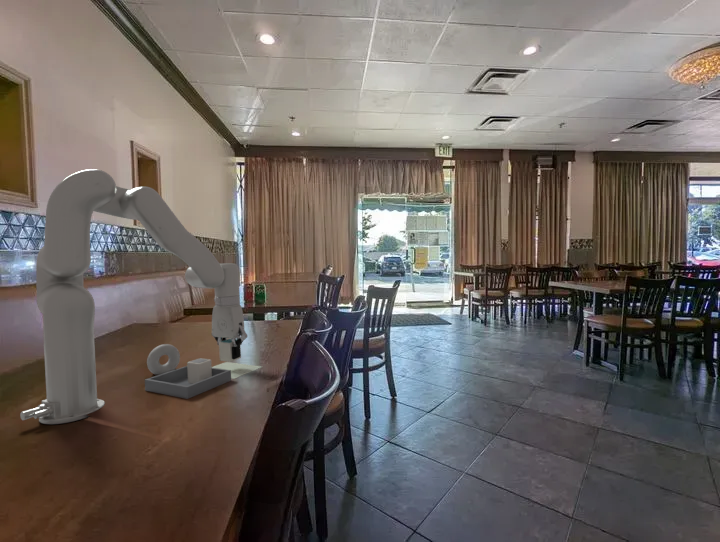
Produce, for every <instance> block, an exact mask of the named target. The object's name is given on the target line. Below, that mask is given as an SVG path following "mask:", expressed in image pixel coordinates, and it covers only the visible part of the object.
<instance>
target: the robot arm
mask: <svg viewBox="0 0 720 542" xmlns="http://www.w3.org/2000/svg"><path fill="white" fill-rule="evenodd" d="M95 212H96V213H100V214H104V215H109V216H114V217H116V218H121V219H127V220H132V221H138V222H139V223H140V224H141V225H142V227H143V228H144V229H145V230H146V231H147V233H148V234H149V235H150V236H151V238H152V239H154V241H155V243H156V244H157V245H158V246H159V247H160V248H162V249H163V250H165V251H166V252H169V253H170V254H173V255H174V256H176V257H178V258H179V259H180V260H182V261H183V262H184V263H185V264H186V265H187V267H188V268H187V269H186V270H185V274H184V279H185V281H186V283H187V284H189V286H191V287H193V288H199V289H214V299H213V301H214V303H215V304H214V306H213V307H212V308H213V309H212V312H211V313H212V315H211V337H213V338H214V339H215V341H216V342H217V343H216V344H217V345H218V346H219V342H221V341H224V340H228V339H232V344H233V347H232V359H236V358H239V357H240V356H241V357H242V353H241V354H240V348H241V345H242V344H243V342H244V341H245V340H246V339H247V338H248V334H247V332H246V330H245V320H244V318H245V317H244V312H243V308H242V305H241V300H240V299H241V298H240V294H241V293H240V278H239V277H240V275H239V272H240V271H239V266H238V264H237V263H234V262H233V263H232V262H231V263H230V262H226V263H220V262H219V261H218V260H217V258H216V257H215V256H214V254H213V253H212V252H211V249H209V248H208V247H207V246H206V245H205V244H203V243H202V242H201V241H200V240H199V239H198V238H196V236H194V235H193V234H192V233H191V232H189V230H187V228H185V226H184V225H183V224H182V222H181V221H180V220H179V218H178V217H177V215H175V213H174V212H173V211H172V209H171V208H170V207H169V205H168V204H167V203H166V201H165V199H164V198H162V196H161V194H160V193H159V192H158V191H157V190H155V189H154V188H153V187H149V186H138V187H134V188H132V189H130V188H129V189H127V188H125V187H120V186H117V184H116V182H115V179H114V177H112V176H111V175H110V174H109V173H107V172H106V171H104V170H101V169H98V168H97V169H95V168H93V169H92V168H90V169H84V170H80V171H77V172H75V173H72V174H70V175H68V176H66V177H65V178H64V179H62V180H61V181H60V182H59V183H58V184H56V187H55V188H54V189H53V191H52V192H51V193H50V196H49V198H48V201H47V205H46V209H45V226H44V244H43V245H42V247H41V248H40V249H39V252H38V253H37V256H36V268H35V269H36V271H35V272H36V284H35V285H36V287H35V288H36V305H37V308H38V310H39V312H40V313H41V314H42V318H43V321H42V322H43V326H42V327H43V336H42V337H43V354H44V370H45V371H44V372H45V389H46V394H45V395H46V398H45V399H43V400H41V404H38V405H37V406H36V407H35V408H29V409H26V410H23V411H21V412H20V419H21V420H22V421H25V420H28V419H32V418H34V420H37V419H38V422H39V423H41V424H44V425H59V424H67V423H72V422H75V421H80V420H83V419H86V418H89V417H90V415H88V414H91V413H94V412H97V411H98V410H99V409H102V408H103V407H104V406H105V404H106V402H105V401H104V400H103V399H99V398H98V392H97V388H98V387H97V375H96V374H97V373H96V372H97V369H96V350H95V349H96V348H95V333H94V332H95V314H96V305H95V300H94V297H93V295H92V294H91V292H90V291H89V290H88V289H87V288H85V287H84V274H85V272H87V271H88V270H89V268H90V265H91V261H92V258H91V256H92V255H91V221H92V216H93V213H95ZM236 340H237V341H236ZM239 359H240V358H239Z"/></svg>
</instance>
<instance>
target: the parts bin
mask: <svg viewBox="0 0 720 542" xmlns="http://www.w3.org/2000/svg"><path fill="white" fill-rule="evenodd" d="M231 381H232V379H231V370H225V369H218V368H212V377H209V378H207V379H204V380H202V381H199V382H196V383H194V384H193V383H188V370H187V365H186V366H185V365H184V366H183V367H179V368H175V370H173V371H170V372H167V373H163V374H158V375H155V376H152V377H149V378H146V379H144V390H145V392H151V393H156V394H160V395H165V396H171V397H176V398H180V399H181V398H182V399H186V400H188V399H191V398H193V397H196V396H198V395H200V394H202V393H205V392H207V391H210V390H212V389H215V388H217V387H219V386H223V384H226V383H229V382H231Z"/></svg>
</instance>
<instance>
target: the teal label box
mask: <svg viewBox="0 0 720 542" xmlns="http://www.w3.org/2000/svg"><path fill="white" fill-rule="evenodd" d="M236 341H237V339H236ZM232 347H233V344H232V339H231V338H227V340H224V341H221V342H219V345H218V352H219V355H218V356H219V361H221V362H231V363H233V362H234V361H236V360H239V359H241V358H242V353H241V350H242V349H241V347H240V354H241V356H240V357H239V358H236V359H232Z"/></svg>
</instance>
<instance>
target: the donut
mask: <svg viewBox="0 0 720 542" xmlns="http://www.w3.org/2000/svg"><path fill="white" fill-rule="evenodd" d="M165 355H166V356H168V361H167V362H166V363H164V364H161V363H160V358H161V357H163V356H165ZM180 360H181V355H180V351H179V350H178V348H177V347H176V346H174V345H173V344H169V343H164V344H160V345H158V346H156V347H154V348H153V349H152V350H151V351H150V352H149V354H148V356H147V359H146V364H147V369H148V370H149V372H150V373H152V374H153V375H155V376H157V375H160V374H163V373H167V372H170V371H173V370H176V369H177V367H178V365H179V363H180Z"/></svg>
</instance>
